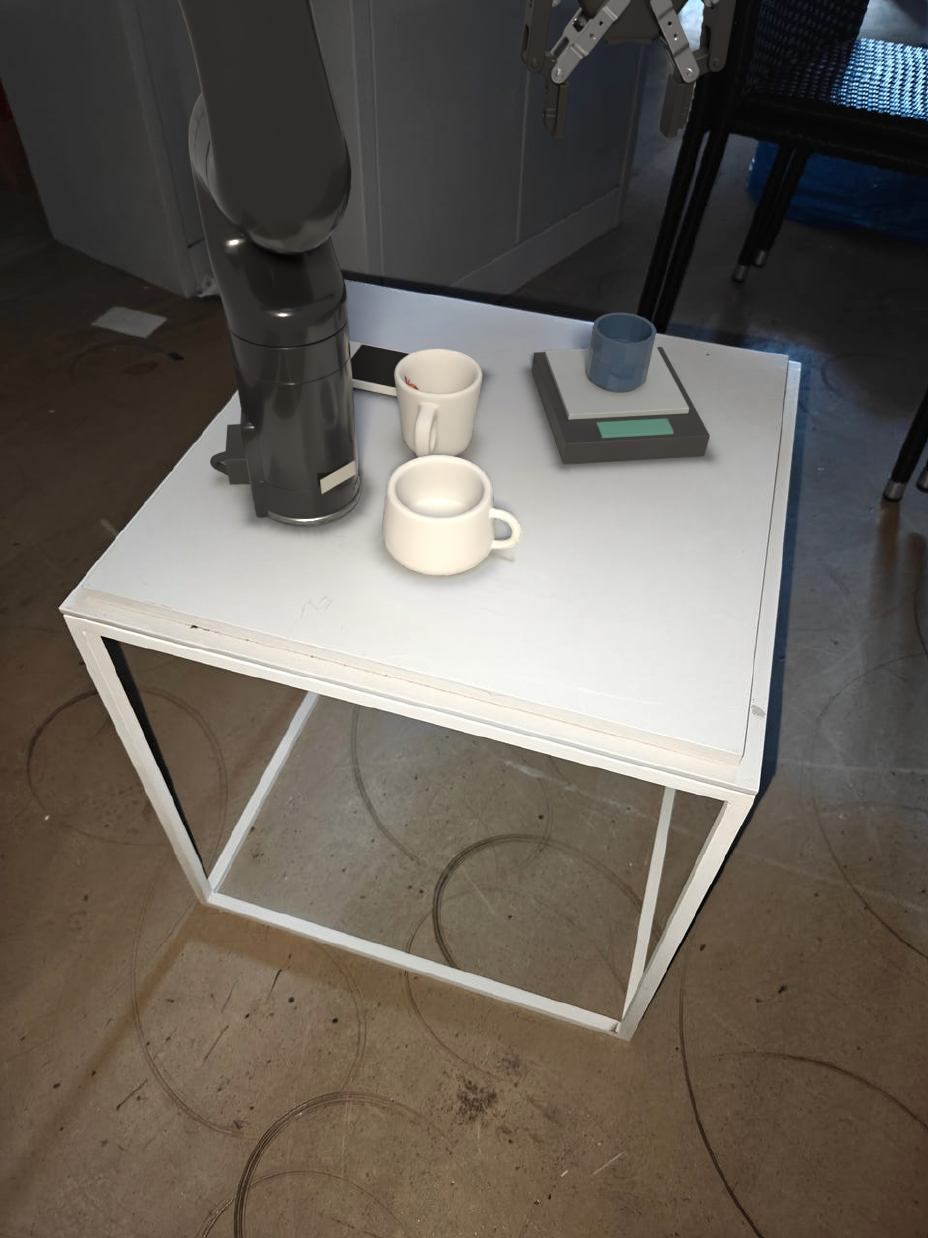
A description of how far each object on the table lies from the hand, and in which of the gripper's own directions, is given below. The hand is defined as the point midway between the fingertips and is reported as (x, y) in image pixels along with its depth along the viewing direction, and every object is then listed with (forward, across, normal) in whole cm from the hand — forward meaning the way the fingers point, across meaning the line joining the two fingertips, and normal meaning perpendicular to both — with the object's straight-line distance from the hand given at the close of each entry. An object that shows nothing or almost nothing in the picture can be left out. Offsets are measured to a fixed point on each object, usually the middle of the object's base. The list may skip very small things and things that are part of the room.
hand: (611, 134), depth 66 cm
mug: (+28, +13, +13) cm, 34 cm away
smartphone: (+28, +15, -13) cm, 34 cm away
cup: (+28, +13, 0) cm, 31 cm away
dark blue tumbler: (+25, -6, -6) cm, 27 cm away
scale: (+28, -6, -5) cm, 29 cm away
